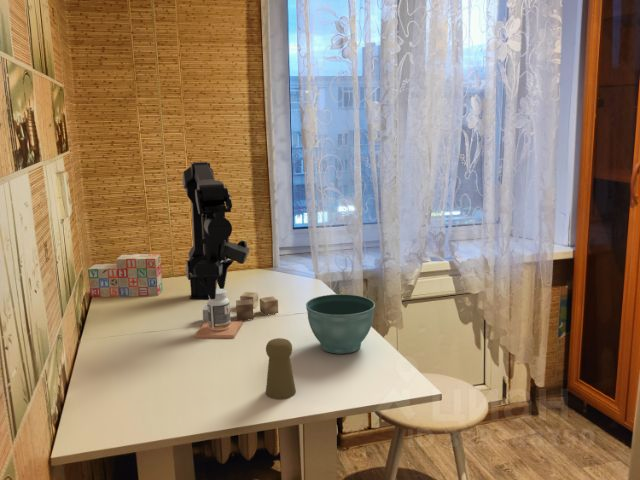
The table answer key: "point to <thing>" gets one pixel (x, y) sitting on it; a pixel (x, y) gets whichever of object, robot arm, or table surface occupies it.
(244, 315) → the walnut cube
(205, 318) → the grey painted block
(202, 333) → the terracotta tile
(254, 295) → the beech block
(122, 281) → the stack of blocks
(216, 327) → the pill bottle
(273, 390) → the olive pawn
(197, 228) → the robot arm
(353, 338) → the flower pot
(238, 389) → the table surface
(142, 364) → the table surface
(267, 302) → the oak block
